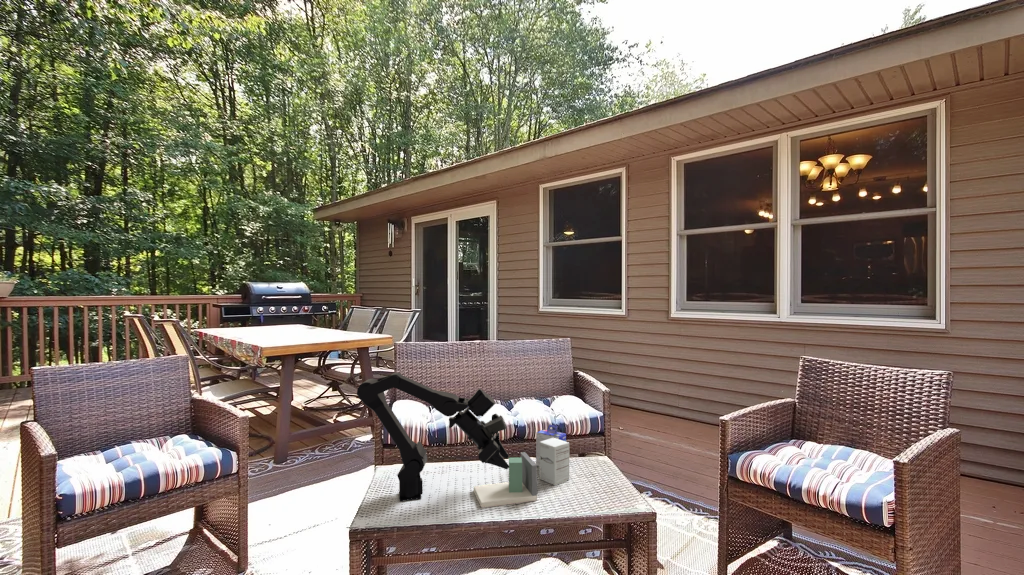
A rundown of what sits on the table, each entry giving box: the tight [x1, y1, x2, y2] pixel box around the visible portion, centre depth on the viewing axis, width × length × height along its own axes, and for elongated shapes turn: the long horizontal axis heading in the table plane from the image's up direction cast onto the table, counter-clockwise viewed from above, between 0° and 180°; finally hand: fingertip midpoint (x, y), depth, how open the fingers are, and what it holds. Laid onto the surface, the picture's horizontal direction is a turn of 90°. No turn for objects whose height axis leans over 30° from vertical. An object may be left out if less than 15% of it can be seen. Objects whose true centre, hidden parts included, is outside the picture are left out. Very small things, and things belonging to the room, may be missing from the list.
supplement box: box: [539, 438, 570, 486], centre depth 156 cm, size 7×7×13 cm
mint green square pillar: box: [508, 456, 522, 493], centre depth 145 cm, size 4×4×9 cm
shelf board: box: [473, 451, 538, 509], centre depth 144 cm, size 17×12×10 cm
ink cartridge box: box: [535, 424, 567, 467], centre depth 167 cm, size 10×6×14 cm, turn 53°
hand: (507, 462), depth 145 cm, fingers open, 9 cm apart
